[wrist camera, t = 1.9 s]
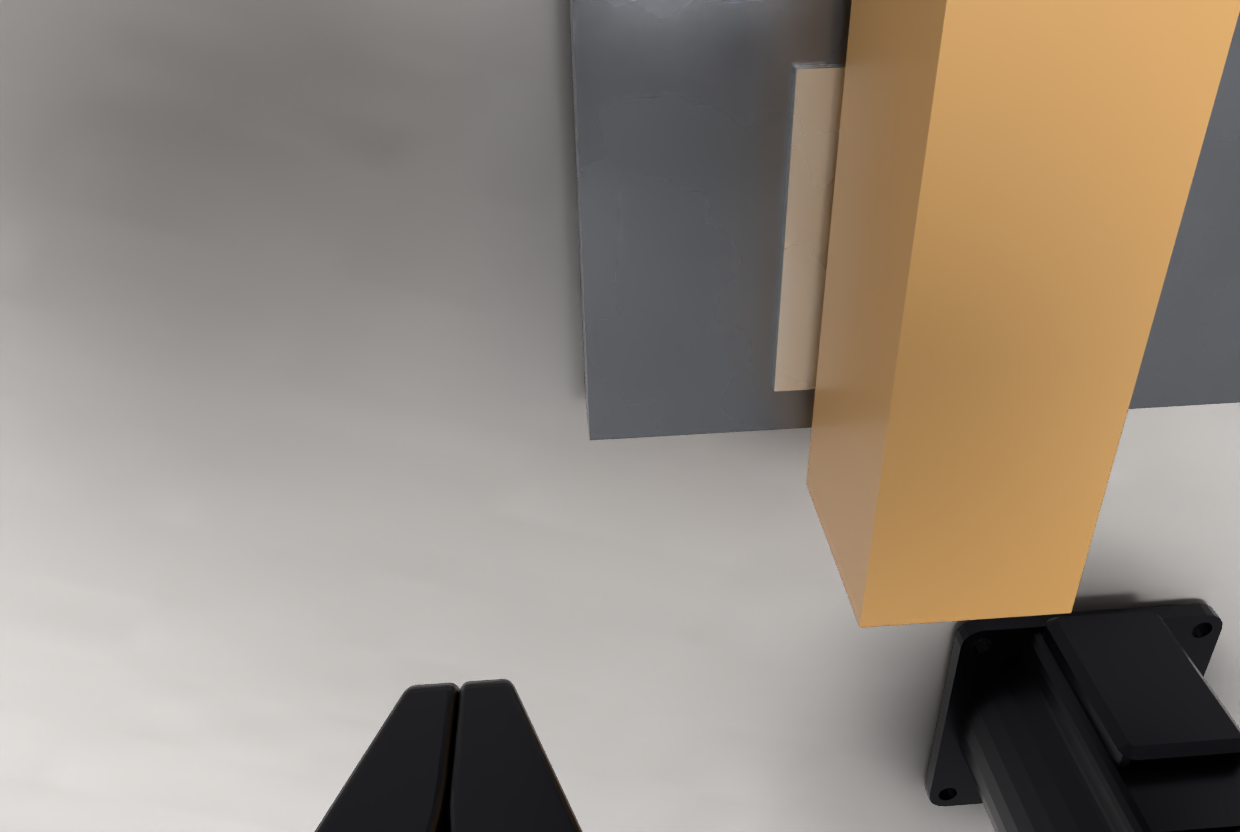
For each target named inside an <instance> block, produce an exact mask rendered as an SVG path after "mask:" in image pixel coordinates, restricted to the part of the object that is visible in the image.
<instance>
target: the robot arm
mask: <svg viewBox="0 0 1240 832" xmlns="http://www.w3.org/2000/svg"><path fill="white" fill-rule="evenodd" d="M1221 630H1222V621H1221V619H1220V618H1219V616H1218V615H1217V614H1216V613H1215V611H1214V610H1213V609H1212V607H1210V606H1208V605H1207V604H1186V605H1172V606H1157V607H1143V608H1128V609H1114V610H1099V611H1085V612H1071V613H1064V614H1050V615H1035V616H1021V617H1006V618H991V619H977V620H971V621H969V622H967V623H965V624H963V625H962V626H961V627H960V628H959V629H958V630H957V632H956V635H955V639H954V643H953V648H952V653H951V658H950V663H949V668H948V673H947V678H946V682H945V687H944V692H943V697H942V702H941V707H940V712H939V717H938V721H937V726H936V731H935V736H934V741H933V746H932V751H931V756H930V760H929V765H928V770H927V775H926V780H925V788H926V791H927V794H928V796H929V799H930V801H931V802H932V803H933V804H935V805H938V806H954V805H966V804H979V803H983V804H984V806H985V809H986V811H987V813H988V816H989V818H990V820H991V823H992V825H993V827H994V830H995V832H1240V728H1239V727H1238V726H1237V724H1236V723H1235V721H1234V720H1233V718H1232V717H1231V716H1230V714H1229V713H1228V711H1227V710H1226V709H1225V707H1224V706H1223V704H1222V703H1221V701H1220V700H1219V699H1218V697H1217V696H1216V694H1215V693H1214V692H1213V690H1212V689H1211V687H1210V686H1209V684H1208V683H1207V682H1206V680H1205V679H1204V677H1203V676H1204V674H1205V671H1206V668H1207V666H1208V663H1209V661H1210V658H1211V655H1212V653H1213V650H1214V648H1215V645H1216V643H1217V640H1218V637H1219V635H1220V632H1221ZM980 638H982V639H980ZM977 639H980V640H978V641H976V640H977ZM315 832H582V830H581V828H580V826H579V823H578V821H577V819H576V817H575V815H574V813H573V811H572V808H571V806H570V804H569V802H568V800H567V798H566V796H565V794H564V791H563V789H562V787H561V785H560V783H559V781H558V779H557V776H556V774H555V772H554V770H553V768H552V766H551V764H550V761H549V759H548V757H547V755H546V753H545V751H544V749H543V747H542V744H541V742H540V740H539V738H538V736H537V734H536V732H535V729H534V727H533V725H532V723H531V721H530V719H529V717H528V714H527V712H526V710H525V708H524V706H523V704H522V702H521V700H520V697H519V695H518V693H517V691H516V689H515V687H514V685H513V684H512V683H511V682H510V681H509V680H507V679H496V680H482V681H469V682H466V683H464V684H463V685H462V687H461V689H459V687H458V686H457V685H455V684H453V683H439V684H425V685H414V686H411V687H409V688H408V689H407V690H406V691H405V692H404V693H403V694H402V696H401V697H400V699H399V700H398V702H397V704H396V705H395V707H394V708H393V710H392V711H391V713H390V714H389V716H388V718H387V719H386V721H385V722H384V724H383V725H382V727H381V729H380V730H379V732H378V733H377V735H376V736H375V738H374V740H373V741H372V743H371V744H370V746H369V747H368V749H367V750H366V752H365V754H364V755H363V757H362V758H361V760H360V761H359V763H358V765H357V766H356V768H355V769H354V771H353V772H352V774H351V776H350V777H349V779H348V780H347V782H346V783H345V785H344V786H343V788H342V790H341V791H340V793H339V794H338V796H337V797H336V799H335V801H334V802H333V804H332V805H331V807H330V808H329V810H328V812H327V813H326V815H325V816H324V818H323V819H322V821H321V822H320V824H319V826H318V827H317V829H316V830H315Z"/></svg>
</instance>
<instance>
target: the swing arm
mask: <svg viewBox="0 0 1240 832" xmlns="http://www.w3.org/2000/svg"><path fill="white" fill-rule="evenodd" d="M1239 12H1240V0H852V3H851V14H850V24H849V35H848V46H847V56H846V67H845V78H844V88H843V99H842V110H841V120H840V131H839V142H838V152H837V163H836V174H835V184H834V195H833V206H832V216H831V227H830V238H829V248H828V259H827V270H826V280H825V291H824V302H823V312H822V323H821V334H820V344H819V355H818V366H817V376H816V387H815V398H814V408H813V419H812V430H811V440H810V451H809V462H808V472H807V483H806V484H807V487H808V490H809V493H810V495H811V498H812V501H813V503H814V506H815V509H816V511H817V514H818V517H819V519H820V522H821V525H822V528H823V530H824V533H825V536H826V538H827V541H828V544H829V546H830V549H831V552H832V555H833V557H834V560H835V563H836V565H837V568H838V571H839V573H840V576H841V579H842V581H843V584H844V587H845V590H846V592H847V595H848V598H849V600H850V603H851V606H852V608H853V611H854V614H855V617H856V619H857V622H858V625H859V627H860V628H861V627H875V626H890V625H904V624H919V623H933V622H948V621H962V620H977V619H991V618H1006V617H1021V616H1035V615H1050V614H1064V613H1071V612H1072V608H1073V605H1074V601H1075V597H1076V594H1077V590H1078V587H1079V583H1080V580H1081V576H1082V572H1083V569H1084V565H1085V562H1086V558H1087V555H1088V551H1089V547H1090V544H1091V540H1092V537H1093V533H1094V530H1095V526H1096V522H1097V519H1098V515H1099V512H1100V508H1101V505H1102V501H1103V497H1104V494H1105V490H1106V487H1107V483H1108V480H1109V476H1110V472H1111V469H1112V465H1113V462H1114V458H1115V455H1116V451H1117V447H1118V444H1119V440H1120V437H1121V433H1122V430H1123V426H1124V422H1125V419H1126V415H1127V412H1128V408H1129V405H1130V401H1131V397H1132V394H1133V390H1134V387H1135V383H1136V380H1137V376H1138V373H1139V369H1140V365H1141V362H1142V358H1143V355H1144V351H1145V348H1146V344H1147V340H1148V337H1149V333H1150V330H1151V326H1152V323H1153V319H1154V315H1155V312H1156V308H1157V305H1158V301H1159V298H1160V294H1161V290H1162V287H1163V283H1164V280H1165V276H1166V273H1167V269H1168V265H1169V262H1170V258H1171V255H1172V251H1173V248H1174V244H1175V240H1176V237H1177V233H1178V230H1179V226H1180V223H1181V219H1182V215H1183V212H1184V208H1185V205H1186V201H1187V198H1188V194H1189V190H1190V187H1191V183H1192V180H1193V176H1194V173H1195V169H1196V165H1197V162H1198V158H1199V155H1200V151H1201V148H1202V144H1203V140H1204V137H1205V133H1206V130H1207V126H1208V123H1209V119H1210V115H1211V112H1212V108H1213V105H1214V101H1215V98H1216V94H1217V90H1218V87H1219V83H1220V80H1221V76H1222V73H1223V69H1224V65H1225V62H1226V58H1227V55H1228V51H1229V48H1230V44H1231V41H1232V37H1233V33H1234V30H1235V26H1236V23H1237V19H1238V16H1239Z"/></svg>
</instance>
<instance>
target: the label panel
mask: <svg viewBox="0 0 1240 832" xmlns="http://www.w3.org/2000/svg"><path fill="white" fill-rule="evenodd" d="M851 3H852V0H570V25H571V49H572V74H573V98H574V123H575V147H576V172H577V196H578V221H579V245H580V270H581V294H582V319H583V343H584V368H585V392H586V407H587V417H588V427H589V437H590V440H603V439H620V438H637V437H654V436H671V435H689V434H706V433H723V432H740V431H757V430H774V429H791V428H809V427H812V419H813V408H814V398H815V387H816V376H817V366H818V355H819V344H820V334H821V323H822V312H823V302H824V291H825V280H826V270H827V259H828V248H829V238H830V227H831V216H832V206H833V195H834V184H835V174H836V163H837V152H838V142H839V131H840V120H841V110H842V99H843V88H844V78H845V67H846V56H847V46H848V35H849V24H850V14H851ZM1237 402H1240V12H1239V16H1238V19H1237V23H1236V26H1235V30H1234V33H1233V37H1232V41H1231V44H1230V48H1229V51H1228V55H1227V58H1226V62H1225V65H1224V69H1223V73H1222V76H1221V80H1220V83H1219V87H1218V90H1217V94H1216V98H1215V101H1214V105H1213V108H1212V112H1211V115H1210V119H1209V123H1208V126H1207V130H1206V133H1205V137H1204V140H1203V144H1202V148H1201V151H1200V155H1199V158H1198V162H1197V165H1196V169H1195V173H1194V176H1193V180H1192V183H1191V187H1190V190H1189V194H1188V198H1187V201H1186V205H1185V208H1184V212H1183V215H1182V219H1181V223H1180V226H1179V230H1178V233H1177V237H1176V240H1175V244H1174V248H1173V251H1172V255H1171V258H1170V262H1169V265H1168V269H1167V273H1166V276H1165V280H1164V283H1163V287H1162V290H1161V294H1160V298H1159V301H1158V305H1157V308H1156V312H1155V315H1154V319H1153V323H1152V326H1151V330H1150V333H1149V337H1148V340H1147V344H1146V348H1145V351H1144V355H1143V358H1142V362H1141V365H1140V369H1139V373H1138V376H1137V380H1136V383H1135V387H1134V390H1133V394H1132V397H1131V401H1130V405H1129V408H1128V409H1134V408H1151V407H1168V406H1185V405H1202V404H1220V403H1237Z"/></svg>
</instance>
